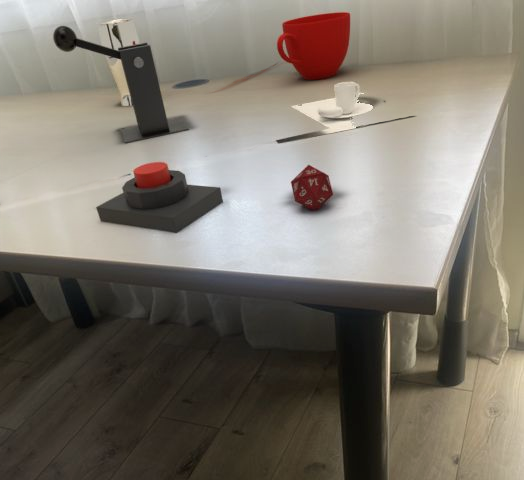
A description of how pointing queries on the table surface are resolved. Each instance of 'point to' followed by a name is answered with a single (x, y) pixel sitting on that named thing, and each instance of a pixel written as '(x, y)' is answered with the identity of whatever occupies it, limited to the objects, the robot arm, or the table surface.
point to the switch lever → (79, 43)
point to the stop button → (152, 175)
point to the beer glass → (114, 38)
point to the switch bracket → (145, 96)
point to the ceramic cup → (316, 43)
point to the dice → (311, 188)
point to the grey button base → (160, 204)
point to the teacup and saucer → (333, 111)
